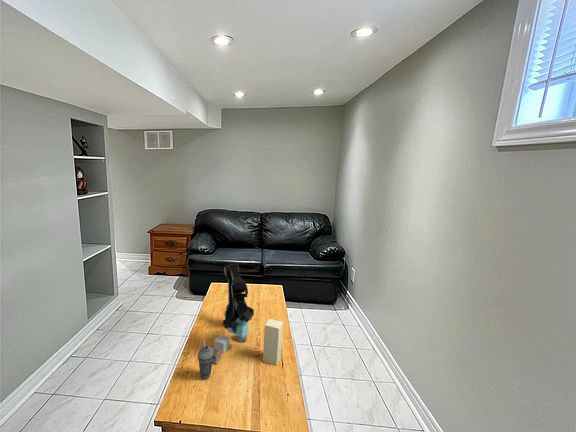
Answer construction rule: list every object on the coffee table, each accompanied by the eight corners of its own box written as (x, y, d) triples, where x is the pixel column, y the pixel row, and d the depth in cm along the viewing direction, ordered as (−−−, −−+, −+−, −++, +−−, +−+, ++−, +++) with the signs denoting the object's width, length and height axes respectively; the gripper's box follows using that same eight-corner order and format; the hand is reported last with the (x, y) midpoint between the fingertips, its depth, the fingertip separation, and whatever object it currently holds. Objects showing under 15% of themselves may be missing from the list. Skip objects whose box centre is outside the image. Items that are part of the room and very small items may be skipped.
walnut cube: (207, 363, 137) (207, 354, 136) (212, 356, 142) (212, 348, 141) (216, 365, 136) (216, 356, 135) (220, 358, 140) (220, 350, 140)
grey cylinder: (236, 340, 155) (236, 331, 154) (241, 336, 159) (241, 327, 158) (243, 343, 153) (243, 334, 152) (248, 339, 157) (248, 330, 156)
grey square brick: (213, 350, 146) (213, 340, 145) (219, 344, 152) (220, 334, 150) (223, 353, 144) (223, 343, 143) (229, 346, 150) (229, 337, 149)
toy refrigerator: (281, 356, 144) (283, 321, 140) (276, 365, 137) (278, 328, 134) (268, 352, 147) (269, 317, 143) (262, 361, 140) (264, 325, 136)
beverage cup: (204, 384, 123) (204, 346, 120) (194, 377, 127) (193, 339, 123) (216, 375, 129) (216, 337, 126) (206, 368, 133) (206, 332, 129)
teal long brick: (227, 331, 147) (227, 321, 146) (233, 327, 152) (233, 317, 151) (242, 337, 143) (242, 327, 142) (247, 332, 147) (248, 323, 146)
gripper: (239, 316, 132) (238, 344, 135) (260, 301, 149) (259, 326, 151) (222, 310, 137) (221, 337, 140) (244, 295, 154) (243, 320, 157)
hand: (237, 330), depth 147 cm, fingers closed on teal long brick, 5 cm apart
